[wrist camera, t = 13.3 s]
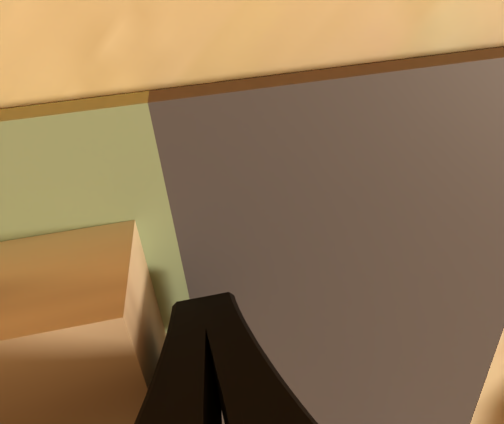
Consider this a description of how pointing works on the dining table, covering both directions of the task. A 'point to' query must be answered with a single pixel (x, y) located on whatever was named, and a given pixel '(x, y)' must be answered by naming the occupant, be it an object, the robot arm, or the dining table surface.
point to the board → (302, 217)
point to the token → (77, 327)
